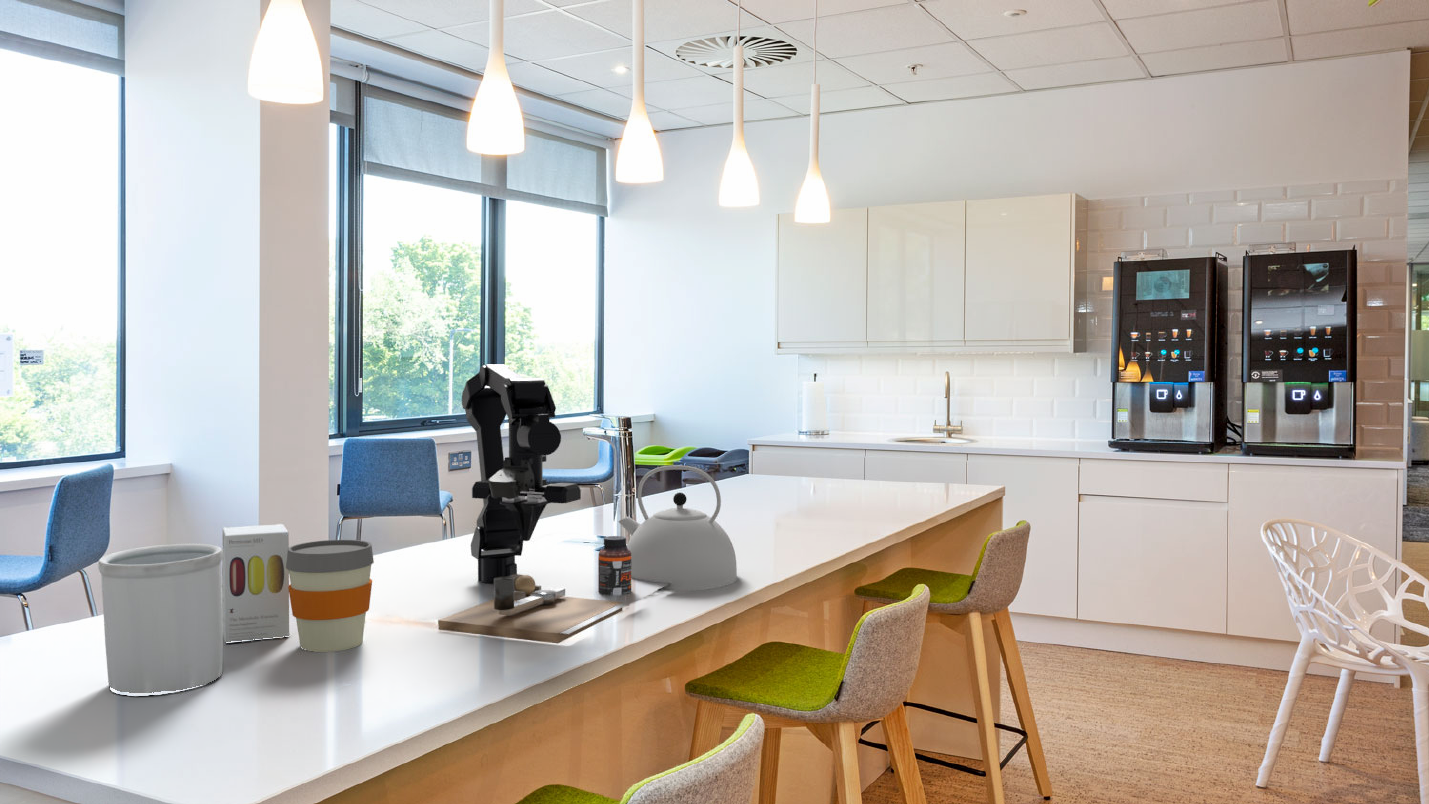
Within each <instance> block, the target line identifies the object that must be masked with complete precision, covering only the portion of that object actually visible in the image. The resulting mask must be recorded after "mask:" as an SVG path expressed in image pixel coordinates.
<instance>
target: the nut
mask: <svg viewBox="0 0 1429 804" xmlns="http://www.w3.org/2000/svg"><path fill="white" fill-rule="evenodd" d="M521 575H522V576H520V577H518V578H517V580H516V582H515V589H516V591H524V592H526V595H529V594H531V593H532V592H533V591H534V589H535V585H536V581H535V579H534V578H533V576H531V575H529V574H521Z"/></svg>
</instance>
